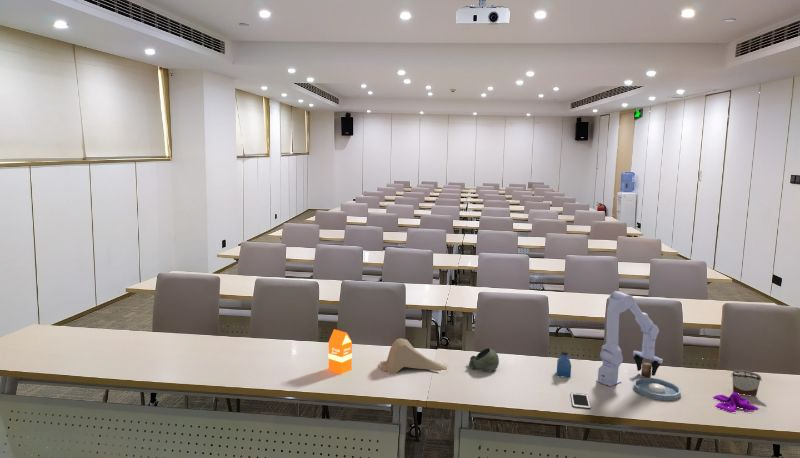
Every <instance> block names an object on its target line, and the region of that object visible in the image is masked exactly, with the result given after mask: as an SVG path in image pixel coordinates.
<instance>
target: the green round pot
mask: <svg viewBox="0 0 800 458" xmlns="http://www.w3.org/2000/svg"><path fill="white" fill-rule="evenodd" d="M469 359H470V360H469V362H468V366H469V368H470V369H471V370H476V369H478V370H480V371H482V372H494V371H496V370H497V368H498V366H499V365H500V360H499V356H498V353H497V352H496V351H495V350H494V349H492V348H490V347H489V348H484V349H482V350H480V352H479V353H477V354H476V355H472V356H470V358H469Z"/></svg>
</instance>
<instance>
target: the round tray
mask: <svg viewBox="0 0 800 458" xmlns="http://www.w3.org/2000/svg"><path fill="white" fill-rule="evenodd" d="M633 390H634V391H635V392H636V393H638V395H642V396H645V397H647V398H649V399H655V400H660V401H674V400H678V399H680V398H681V395H682V391H681V388H680V387H679V386H678V385H677V384H675V383H673V382H670V381H667V380H664V379H660V378H653V377H650V378H646V377H639V378H637V379H634V380H633Z"/></svg>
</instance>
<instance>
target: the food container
mask: <svg viewBox="0 0 800 458" xmlns="http://www.w3.org/2000/svg"><path fill="white" fill-rule="evenodd" d="M730 376H731V378H732V393H739V394H745V395H744V396H746V395H751V396H750V397H753V396H756V397H757V394H758V391H759V386H760V382H762V381H763V380H762V376H761V375H760V374H758V373H755V372H753V371H748V370H744V369H738V370H737V369H736V370H733V371H732V373H731V374H730Z"/></svg>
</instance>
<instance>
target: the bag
mask: <svg viewBox="0 0 800 458" xmlns="http://www.w3.org/2000/svg"><path fill="white" fill-rule="evenodd" d="M379 363H380V364H379V365H380V368H381V371H382V372H387V373H388V374H389V373H390V374H397V373H398V372H399V371H400V370H401V369H403V368H410V369H411V368H412V369H420V370H428V371H430V372H434V373H436V372H437V371H441V370H447V367H448V366H447V365H446V366H447V367H446V366H444V365H445V364H444V365H441V364H442V363H440V362H437V361H435V360H432V359H431V358H428V357H426V356H425V355H424V354H422V353H420V352H419V351H418V350H416V349H415V347H414V346H413V345H412V344H411V343H410V341H409V340H408V339H406V338H399V337H398V339H396V340H395V341H394V342H393V343H392V344H391V347H390V348H389V352H388V355H387V359H386V360H381V361H380V362H379Z"/></svg>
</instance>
